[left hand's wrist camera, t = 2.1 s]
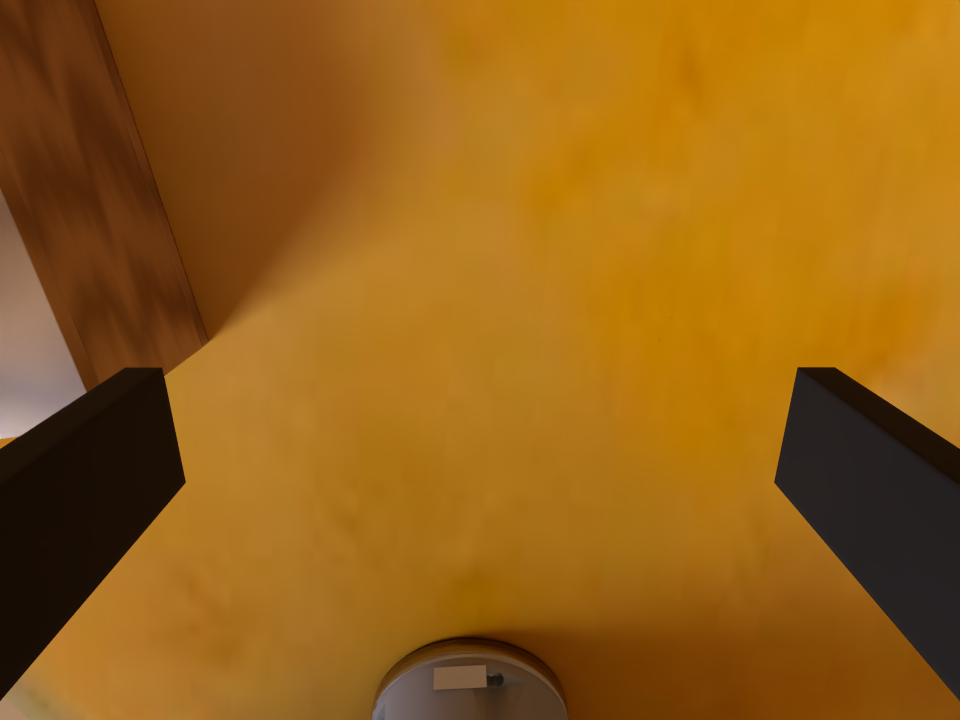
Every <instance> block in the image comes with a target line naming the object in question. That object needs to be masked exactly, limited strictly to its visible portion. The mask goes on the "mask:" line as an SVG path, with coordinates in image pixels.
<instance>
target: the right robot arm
mask: <svg viewBox="0 0 960 720" xmlns="http://www.w3.org/2000/svg"><path fill="white" fill-rule="evenodd" d="M371 720H568V714H567V707H566V701H565V696H564V693H563V690H562V688H561V685H560V684H559V682H558V680H557V679H556V677H555V676H554V675H553V673H552V672H551V671H550V670H549V669H548V668H547V667H546V666H545V665H544V664H543V663H542V662H540V661H539V660H538V659H536V658H535V657H533V656H532V655H530V654H528V653H526V652H524V651H522V650H520V649H518V648H515V647H513V646H510V645H507V644H503V643H499V642H494V641H489V640H479V639H460V640H451V641H445V642H440V643H436V644H433V645H430V646H427V647H424V648H422V649H419V650H417V651H415V652H413V653H411V654H410V655H408V656H406V657H405V658H403V659H402V660H401V661H399V662H398V663H397V664H396V665H395V666H394V667H393V668H391V670H390V671H389V672H388V673H387V674H386V675H385V677H384V678H383V680H382V681H381V683H380V685H379V687H378V690H377V692H376V696H375V700H374V705H373V711H372V716H371Z"/></svg>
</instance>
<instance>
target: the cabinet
mask: <svg viewBox="0 0 960 720" xmlns="http://www.w3.org/2000/svg"><path fill="white" fill-rule="evenodd" d="M207 343H208V339H207V336H206V333H205V330H204V327H203V324H202V321H201V318H200V315H199V312H198V309H197V306H196V304H195V301H194V298H193V295H192V292H191V289H190V286H189V283H188V280H187V277H186V274H185V271H184V268H183V265H182V262H181V259H180V256H179V253H178V250H177V247H176V244H175V241H174V238H173V235H172V232H171V229H170V226H169V223H168V220H167V217H166V214H165V211H164V208H163V205H162V202H161V199H160V197H159V194H158V191H157V188H156V185H155V182H154V179H153V176H152V173H151V170H150V167H149V164H148V161H147V158H146V155H145V152H144V149H143V146H142V143H141V140H140V137H139V134H138V131H137V128H136V125H135V122H134V119H133V116H132V113H131V110H130V107H129V104H128V101H127V98H126V95H125V92H124V89H123V87H122V84H121V81H120V78H119V75H118V72H117V69H116V66H115V63H114V60H113V57H112V54H111V51H110V48H109V45H108V42H107V39H106V36H105V33H104V30H103V27H102V24H101V21H100V18H99V15H98V12H97V9H96V6H95V3H94V0H0V439H4V438H11V437H18V436H21V435H22V434H24V433H25V432H27V431H29V430H30V429H32V428H33V427H35V426H36V425H38V424H39V423H41V422H42V421H44V420H45V419H47V418H48V417H50V416H52V415H53V414H55V413H56V412H58V411H59V410H61V409H62V408H64V407H65V406H67V405H68V404H70V403H71V402H73V401H75V400H76V399H78V398H79V397H81V396H82V395H84V394H85V393H87V392H88V391H90V390H91V389H93V388H94V387H96V386H98V385H99V384H101V383H102V382H104V381H105V380H107V379H108V378H110V377H111V376H113V375H114V374H116V373H117V372H119V371H121V370H122V369H124V368H125V367H162V368H163V373H164V376H165V375H166V374H167V373H169V372H170V371H171V370H173V369H174V368H175V367H177V366H178V365H179V364H181V363H182V362H183V361H185V360H186V359H187V358H189V357H190V356H191V355H193V354H194V353H195V352H197V351H198V350H199V349H201V348H202V347H203V346H205V345H206V344H207Z"/></svg>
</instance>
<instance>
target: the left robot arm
mask: <svg viewBox="0 0 960 720" xmlns="http://www.w3.org/2000/svg"><path fill="white" fill-rule="evenodd" d="M185 483H186V481H185V476H184V471H183V467H182V462H181V457H180V452H179V447H178V442H177V437H176V432H175V427H174V422H173V417H172V413H171V408H170V403H169V398H168V393H167V388H166V383H165V378H164V373H163V368H162V367H125V368H124V369H122V370H121V371H119V372H117V373H116V374H114V375H113V376H111V377H110V378H108V379H107V380H105V381H104V382H102V383H101V384H99V385H98V386H96V387H94V388H93V389H91V390H90V391H88V392H87V393H85V394H84V395H82V396H81V397H79V398H78V399H76V400H75V401H73V402H71V403H70V404H68V405H67V406H65V407H64V408H62V409H61V410H59V411H58V412H56V413H55V414H53V415H52V416H50V417H48V418H47V419H45V420H44V421H42V422H41V423H39V424H38V425H36V426H35V427H33V428H32V429H30V430H29V431H27V432H25V433H24V434H22V435H21V436H19V437H18V438H16V439H15V440H13V441H12V442H10V443H9V444H7V445H6V446H4V447H3V448H1V449H0V701H1V699H2V698H3V697H4V696H5V695H6V694H7V692H8V691H9V690H10V689H11V688H12V687H13V685H14V684H15V683H16V682H17V681H18V679H19V678H20V677H21V676H22V675H23V674H24V672H25V671H26V670H27V669H28V668H29V667H30V665H31V664H32V663H33V662H34V661H35V659H36V658H37V657H38V656H39V655H40V654H41V652H42V651H43V650H44V649H45V648H46V647H47V645H48V644H49V643H50V642H51V641H52V639H53V638H54V637H55V636H56V635H57V634H58V632H59V631H60V630H61V629H62V628H63V626H64V625H65V624H66V623H67V622H68V621H69V619H70V618H71V617H72V616H73V615H74V614H75V612H76V611H77V610H78V609H79V608H80V606H81V605H82V604H83V603H84V602H85V601H86V599H87V598H88V597H89V596H90V595H91V594H92V592H93V591H94V590H95V589H96V588H97V586H98V585H99V584H100V583H101V582H102V581H103V579H104V578H105V577H106V576H107V575H108V573H109V572H110V571H111V570H112V569H113V568H114V566H115V565H116V564H117V563H118V562H119V561H120V559H121V558H122V557H123V556H124V555H125V553H126V552H127V551H128V550H129V549H130V548H131V546H132V545H133V544H134V543H135V542H136V541H137V539H138V538H139V537H140V536H141V535H142V533H143V532H144V531H145V530H146V529H147V528H148V526H149V525H150V524H151V523H152V522H153V520H154V519H155V518H156V517H157V516H158V515H159V513H160V512H161V511H162V510H163V509H164V508H165V506H166V505H167V504H168V503H169V502H170V500H171V499H172V498H173V497H174V496H175V495H176V493H177V492H178V491H179V490H180V489H181V488H182V486H183V485H184V484H185ZM774 483H775V484H776V485H777V486H778V488H779V489H780V490H781V491H782V492H783V493H784V495H785V496H786V497H787V498H788V499H789V500H790V502H791V503H792V504H793V505H794V506H795V508H796V509H797V510H798V511H799V512H800V513H801V515H802V516H803V517H804V518H805V519H806V520H807V522H808V523H809V524H810V525H811V526H812V528H813V529H814V530H815V531H816V532H817V533H818V535H819V536H820V537H821V538H822V539H823V541H824V542H825V543H826V544H827V545H828V546H829V548H830V549H831V550H832V551H833V552H834V553H835V555H836V556H837V557H838V558H839V559H840V561H841V562H842V563H843V564H844V565H845V566H846V568H847V569H848V570H849V571H850V572H851V573H852V575H853V576H854V577H855V578H856V579H857V581H858V582H859V583H860V584H861V585H862V586H863V588H864V589H865V590H866V591H867V592H868V594H869V595H870V596H871V597H872V598H873V599H874V601H875V602H876V603H877V604H878V605H879V606H880V608H881V609H882V610H883V611H884V612H885V614H886V615H887V616H888V617H889V618H890V619H891V621H892V622H893V623H894V624H895V625H896V626H897V628H898V629H899V630H900V631H901V632H902V634H903V635H904V636H905V637H906V638H907V639H908V641H909V642H910V643H911V644H912V645H913V647H914V648H915V649H916V650H917V651H918V652H919V654H920V655H921V656H922V657H923V658H924V659H925V661H926V662H927V663H928V664H929V665H930V667H931V668H932V669H933V670H934V671H935V672H936V674H937V675H938V676H939V677H940V678H941V679H942V681H943V682H944V683H945V684H946V685H947V687H948V688H949V689H950V690H951V691H952V692H953V694H954V695H955V696H956V697H957V698H958V700H959V701H960V449H959V448H957V447H956V446H954V445H953V444H951V443H950V442H948V441H947V440H945V439H944V438H942V437H941V436H939V435H938V434H936V433H935V432H933V431H931V430H930V429H928V428H927V427H925V426H924V425H922V424H921V423H919V422H918V421H916V420H915V419H913V418H912V417H910V416H908V415H907V414H905V413H904V412H902V411H901V410H899V409H898V408H896V407H895V406H893V405H892V404H890V403H889V402H887V401H885V400H884V399H882V398H881V397H879V396H878V395H876V394H875V393H873V392H872V391H870V390H869V389H867V388H866V387H864V386H862V385H861V384H859V383H858V382H856V381H855V380H853V379H852V378H850V377H849V376H847V375H846V374H844V373H843V372H841V371H839V370H838V369H836V368H835V367H798V368H797V373H796V378H795V383H794V388H793V393H792V398H791V403H790V408H789V413H788V417H787V422H786V427H785V432H784V437H783V442H782V447H781V452H780V457H779V462H778V467H777V471H776V476H775V481H774Z"/></svg>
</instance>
